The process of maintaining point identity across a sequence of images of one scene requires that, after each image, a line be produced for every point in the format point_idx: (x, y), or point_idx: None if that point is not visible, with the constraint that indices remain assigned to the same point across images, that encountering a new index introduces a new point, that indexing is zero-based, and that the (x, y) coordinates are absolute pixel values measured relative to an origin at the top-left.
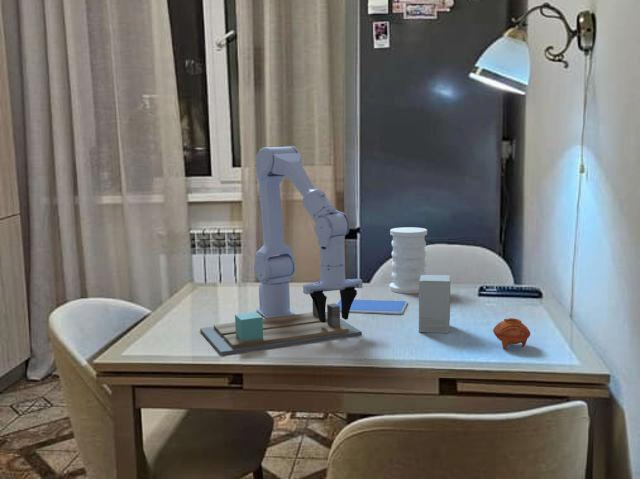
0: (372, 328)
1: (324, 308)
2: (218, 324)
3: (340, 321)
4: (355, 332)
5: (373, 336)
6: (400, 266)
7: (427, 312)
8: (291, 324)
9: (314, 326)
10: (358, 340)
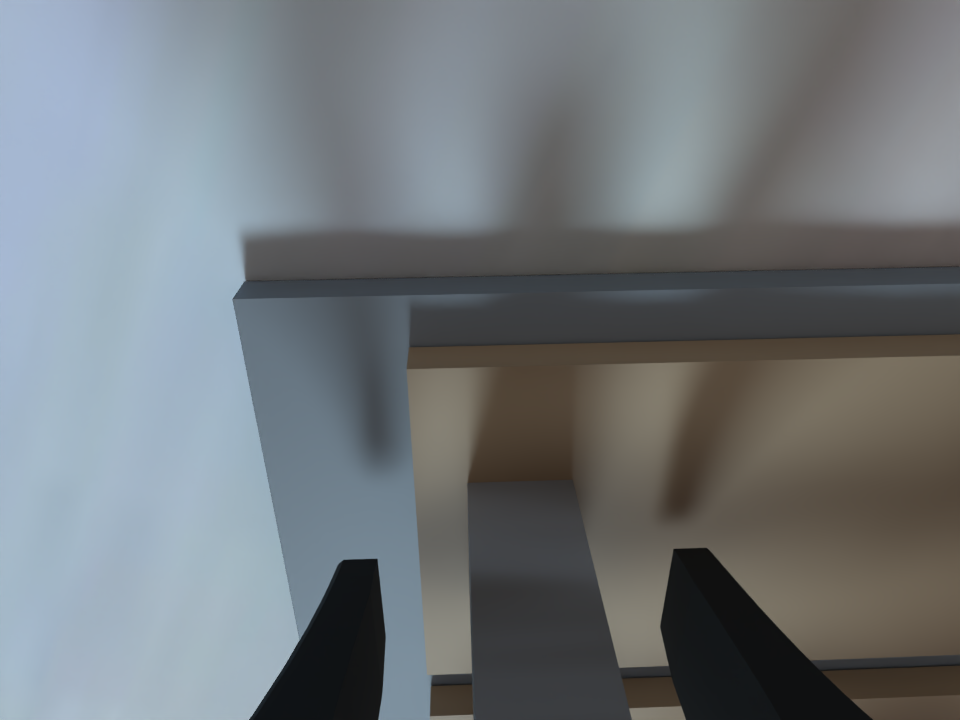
0: (48, 456)
1: (796, 713)
2: None
3: None
4: (325, 302)
5: (103, 166)
6: None
7: None
8: (874, 697)
9: None
10: (364, 84)
